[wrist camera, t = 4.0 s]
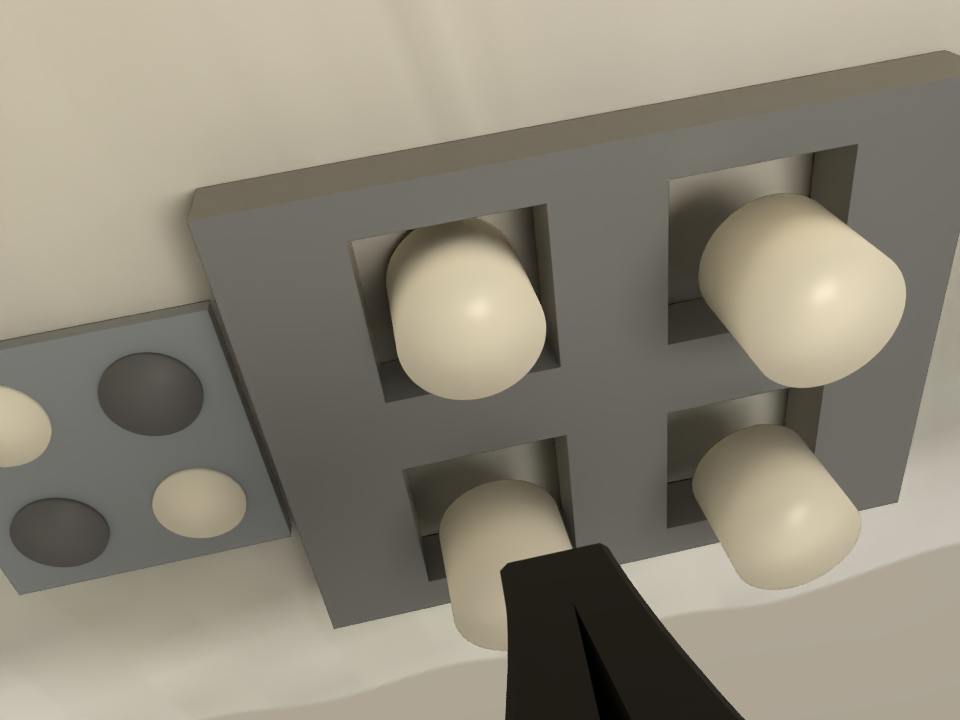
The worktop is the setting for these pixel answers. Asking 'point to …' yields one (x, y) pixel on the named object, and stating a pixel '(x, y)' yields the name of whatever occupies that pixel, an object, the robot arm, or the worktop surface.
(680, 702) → the robot arm
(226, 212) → the button board
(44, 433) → the card
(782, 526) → the button
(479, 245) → the button
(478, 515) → the button
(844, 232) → the button
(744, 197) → the worktop surface
